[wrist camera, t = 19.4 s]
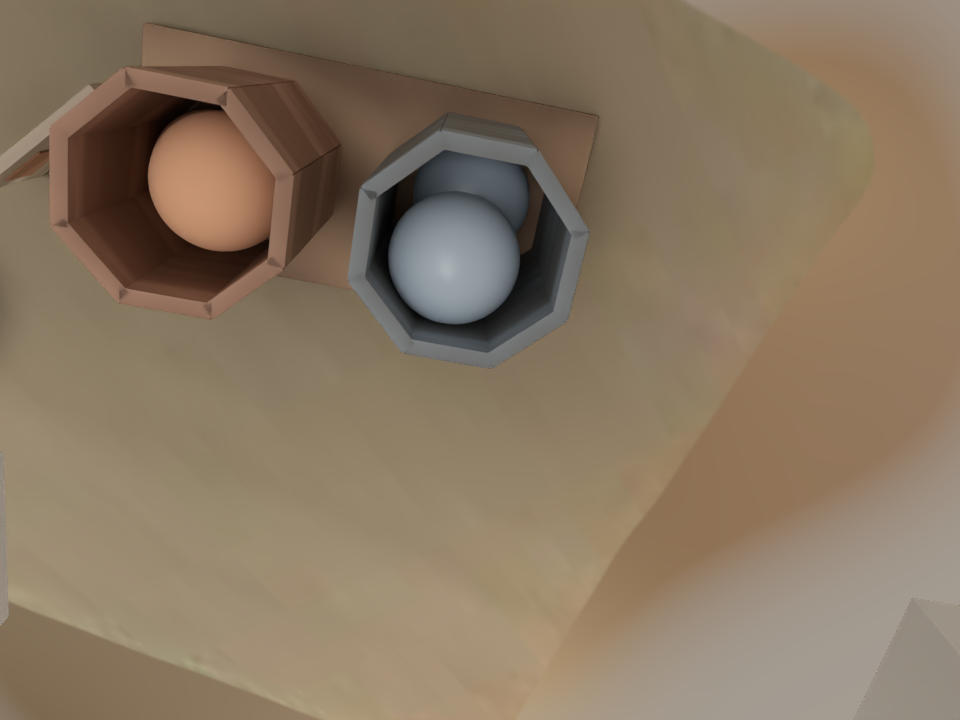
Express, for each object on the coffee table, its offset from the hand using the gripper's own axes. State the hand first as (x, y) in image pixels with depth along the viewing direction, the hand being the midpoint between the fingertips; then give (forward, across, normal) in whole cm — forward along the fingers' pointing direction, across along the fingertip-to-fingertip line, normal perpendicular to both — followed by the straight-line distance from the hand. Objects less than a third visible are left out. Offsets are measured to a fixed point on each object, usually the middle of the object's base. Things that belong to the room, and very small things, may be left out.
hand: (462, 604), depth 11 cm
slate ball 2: (+27, 0, +2) cm, 27 cm away
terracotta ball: (+27, -14, 0) cm, 30 cm away
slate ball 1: (+34, 0, 0) cm, 34 cm away
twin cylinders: (+35, -9, 0) cm, 36 cm away
